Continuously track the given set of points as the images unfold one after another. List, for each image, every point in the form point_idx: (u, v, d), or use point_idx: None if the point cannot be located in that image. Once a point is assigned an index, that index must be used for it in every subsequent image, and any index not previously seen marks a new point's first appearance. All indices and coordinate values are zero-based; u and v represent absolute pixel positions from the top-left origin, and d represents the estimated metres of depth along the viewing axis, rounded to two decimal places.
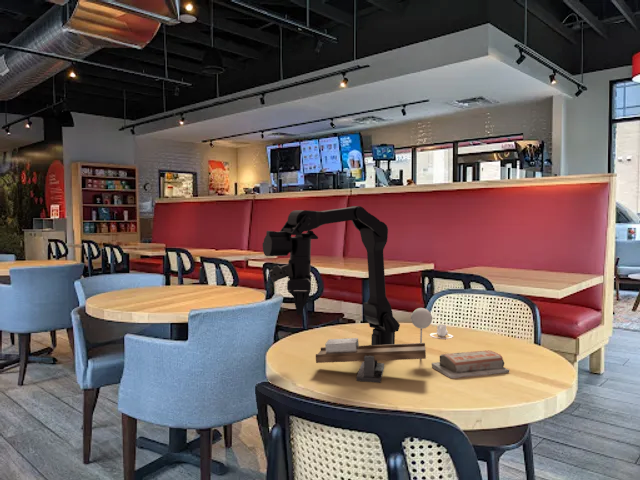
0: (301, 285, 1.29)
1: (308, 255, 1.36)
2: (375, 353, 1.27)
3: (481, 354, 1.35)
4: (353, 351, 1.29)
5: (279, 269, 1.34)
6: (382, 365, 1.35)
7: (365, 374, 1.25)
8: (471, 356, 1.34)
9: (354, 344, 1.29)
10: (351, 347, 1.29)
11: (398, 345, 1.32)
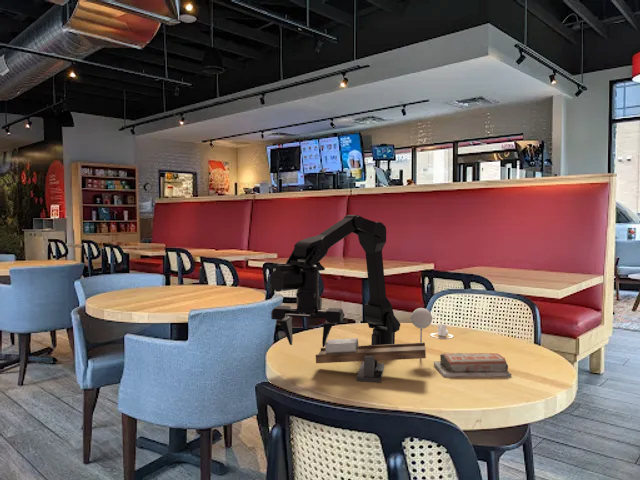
0: None
1: (317, 288, 1.32)
2: (375, 353, 1.27)
3: (483, 356, 1.34)
4: (353, 351, 1.29)
5: None
6: (382, 365, 1.35)
7: (365, 374, 1.25)
8: (471, 357, 1.33)
9: (354, 344, 1.29)
10: (351, 347, 1.29)
11: (398, 345, 1.32)
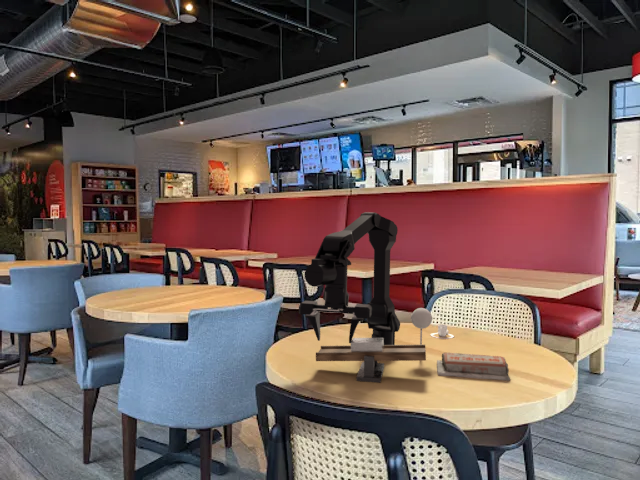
0: None
1: (346, 282, 1.31)
2: (375, 353, 1.27)
3: (484, 358, 1.32)
4: (379, 351, 1.27)
5: None
6: (382, 365, 1.35)
7: (365, 374, 1.25)
8: (471, 358, 1.32)
9: (380, 344, 1.27)
10: (377, 346, 1.27)
11: (398, 346, 1.32)
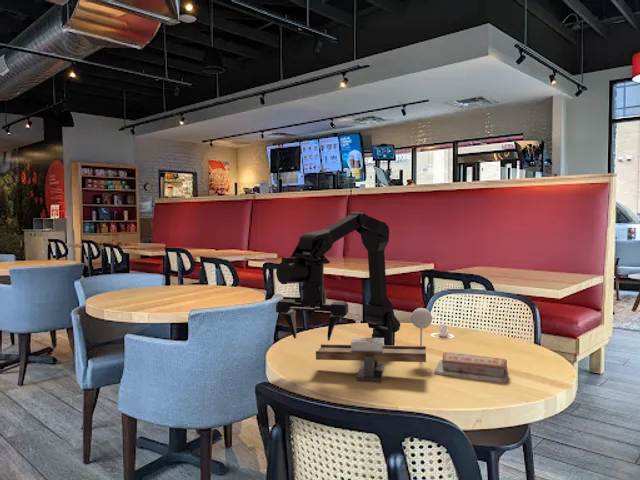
0: None
1: (322, 281, 1.32)
2: (375, 353, 1.27)
3: (484, 359, 1.31)
4: (379, 351, 1.27)
5: (301, 290, 1.39)
6: (382, 365, 1.35)
7: (365, 374, 1.25)
8: (470, 358, 1.31)
9: (380, 344, 1.27)
10: (377, 347, 1.27)
11: (399, 347, 1.32)
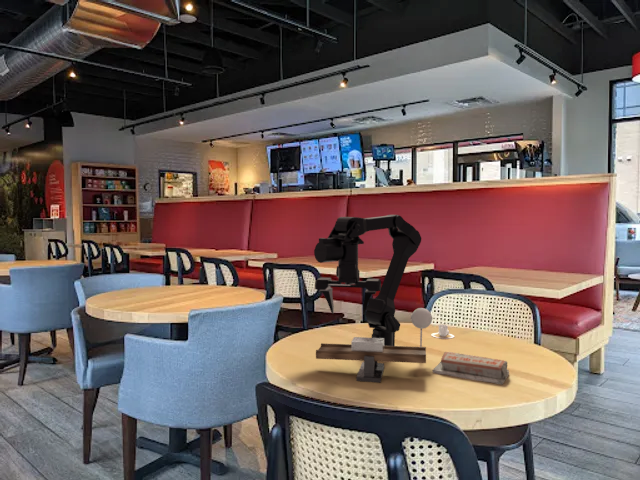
0: None
1: (357, 260, 1.43)
2: (376, 354, 1.27)
3: (483, 360, 1.30)
4: (379, 351, 1.27)
5: None
6: (382, 365, 1.35)
7: (365, 374, 1.25)
8: (469, 359, 1.31)
9: (381, 344, 1.27)
10: (377, 347, 1.27)
11: (399, 347, 1.32)
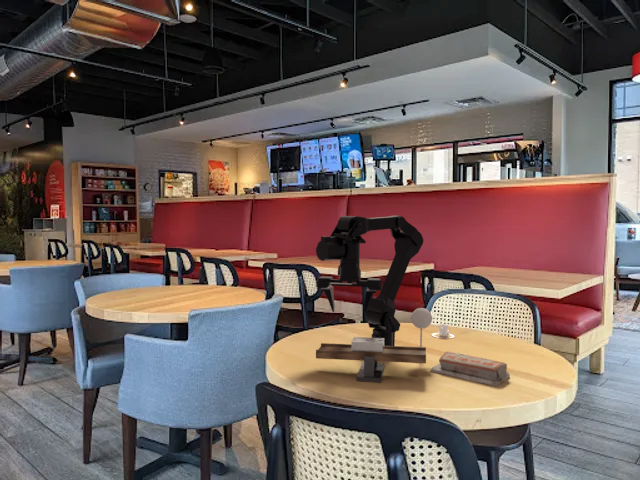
0: None
1: (358, 259, 1.43)
2: (376, 354, 1.27)
3: (481, 361, 1.29)
4: (379, 351, 1.27)
5: (338, 268, 1.51)
6: (382, 365, 1.35)
7: (365, 374, 1.25)
8: (467, 359, 1.31)
9: (381, 344, 1.27)
10: (377, 347, 1.27)
11: (399, 347, 1.32)
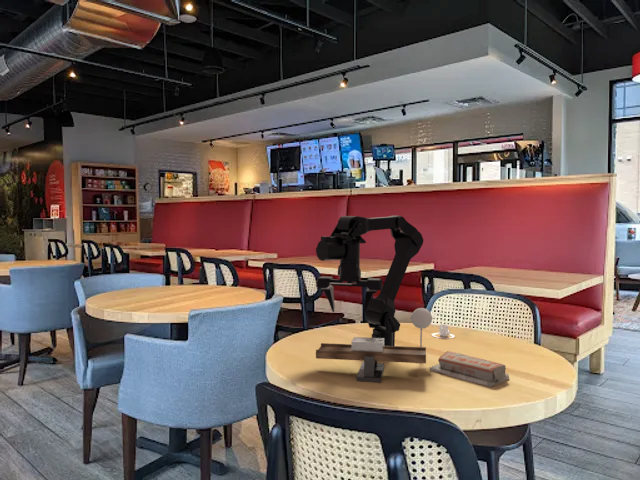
0: None
1: (358, 259, 1.43)
2: (376, 354, 1.27)
3: (479, 362, 1.28)
4: (379, 351, 1.27)
5: (338, 268, 1.51)
6: (382, 365, 1.35)
7: (365, 374, 1.25)
8: (466, 359, 1.31)
9: (381, 344, 1.27)
10: (377, 347, 1.27)
11: (399, 347, 1.32)
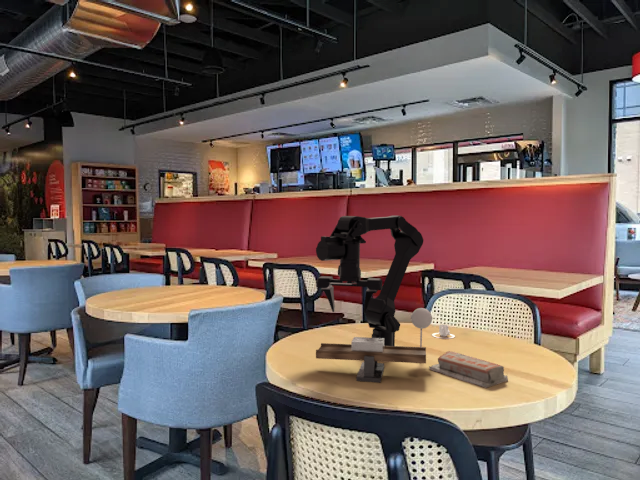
0: None
1: (358, 259, 1.43)
2: (376, 354, 1.27)
3: (477, 362, 1.28)
4: (379, 351, 1.27)
5: (338, 268, 1.51)
6: (382, 365, 1.35)
7: (365, 374, 1.25)
8: (464, 359, 1.30)
9: (381, 344, 1.27)
10: (377, 347, 1.27)
11: (399, 347, 1.32)
